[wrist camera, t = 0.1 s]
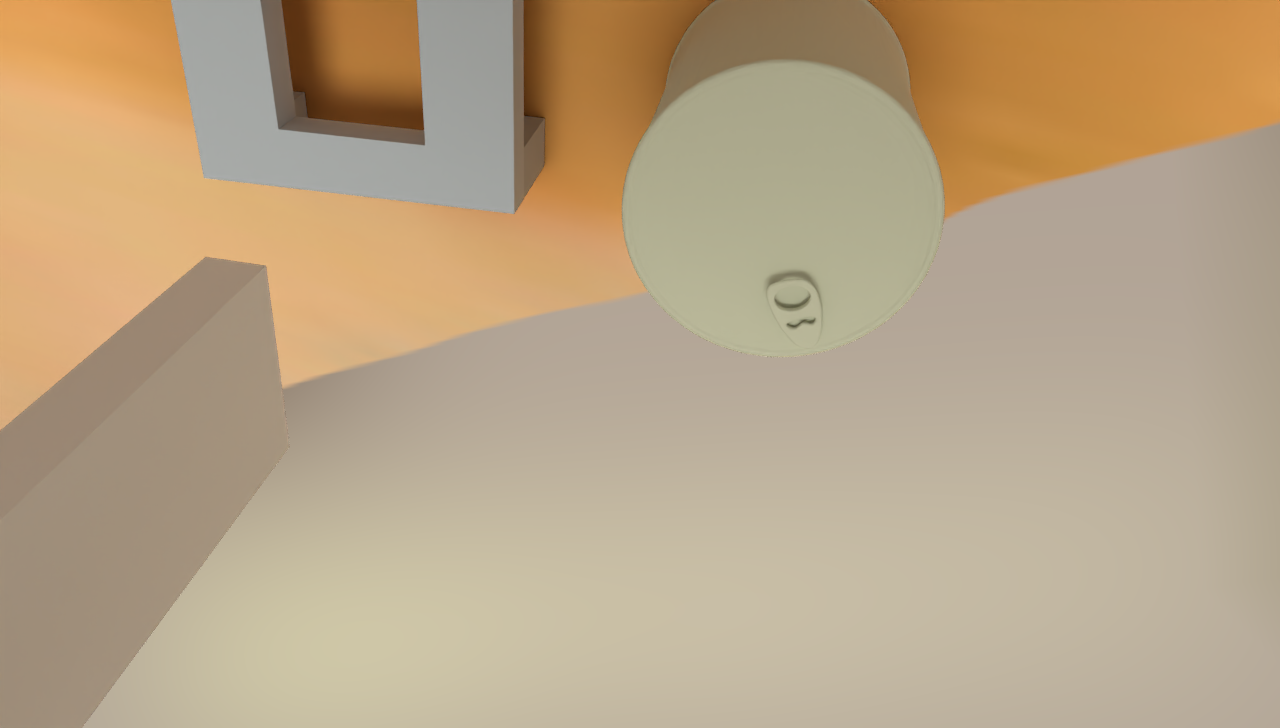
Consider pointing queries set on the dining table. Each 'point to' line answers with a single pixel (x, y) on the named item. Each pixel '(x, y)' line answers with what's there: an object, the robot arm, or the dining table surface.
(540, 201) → the dining table surface
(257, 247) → the dining table surface
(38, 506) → the robot arm
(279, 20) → the square frame with posts
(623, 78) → the dining table surface
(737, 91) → the can
